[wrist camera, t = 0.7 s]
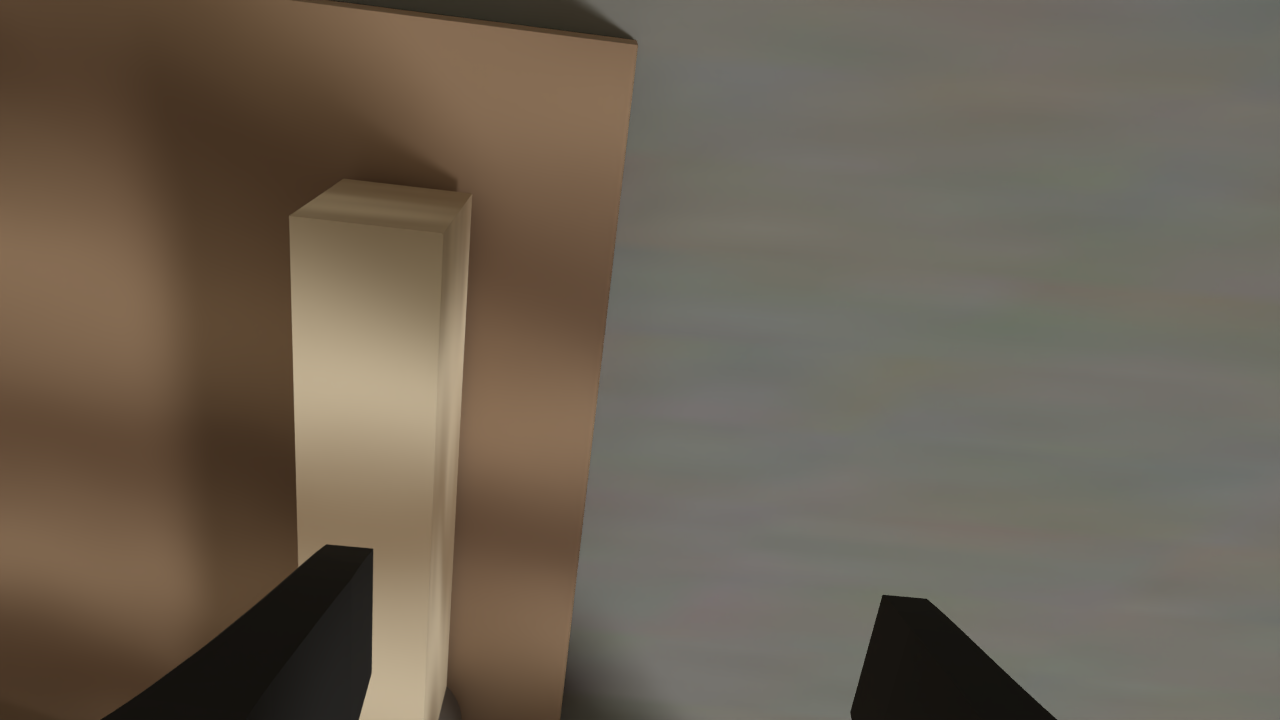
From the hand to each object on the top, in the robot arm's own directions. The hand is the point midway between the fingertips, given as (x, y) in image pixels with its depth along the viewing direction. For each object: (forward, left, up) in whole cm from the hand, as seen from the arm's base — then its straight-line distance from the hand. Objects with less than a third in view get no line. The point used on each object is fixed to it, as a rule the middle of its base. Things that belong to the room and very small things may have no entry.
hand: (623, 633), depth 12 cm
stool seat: (-3, +11, -9) cm, 14 cm away
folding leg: (-3, +5, -7) cm, 9 cm away
